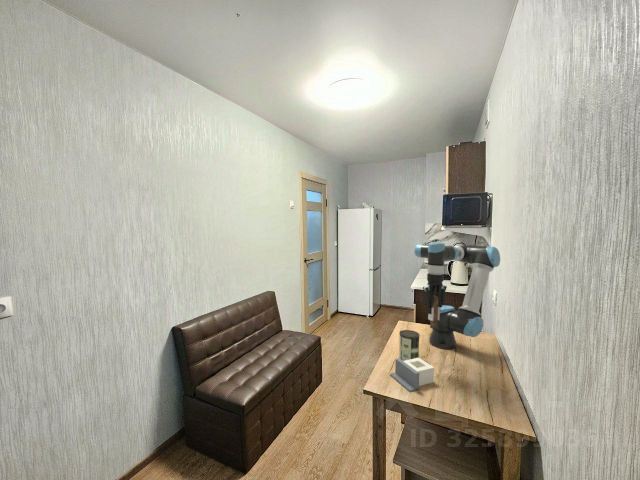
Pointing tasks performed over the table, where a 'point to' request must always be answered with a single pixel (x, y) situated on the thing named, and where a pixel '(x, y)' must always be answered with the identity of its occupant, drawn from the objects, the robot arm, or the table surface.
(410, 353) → the coffee can
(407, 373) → the wall
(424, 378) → the block
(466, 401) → the table surface
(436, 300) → the dowel
